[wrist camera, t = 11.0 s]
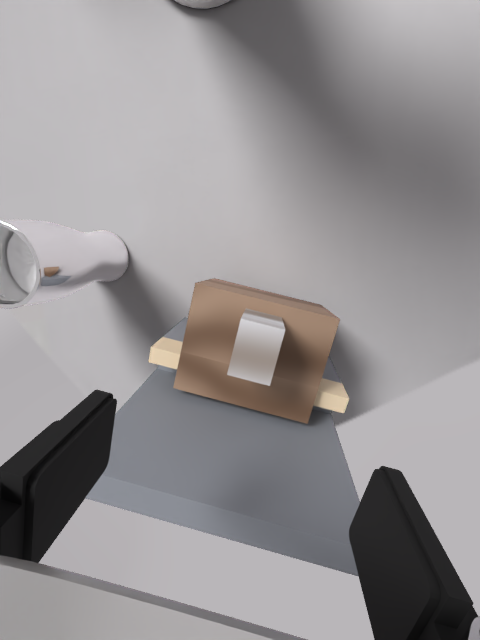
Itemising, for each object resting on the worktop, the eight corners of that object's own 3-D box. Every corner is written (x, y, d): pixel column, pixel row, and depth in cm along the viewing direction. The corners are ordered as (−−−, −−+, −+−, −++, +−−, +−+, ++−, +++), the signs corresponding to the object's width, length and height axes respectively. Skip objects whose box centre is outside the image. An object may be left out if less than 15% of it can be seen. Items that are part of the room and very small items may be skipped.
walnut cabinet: (214, 278, 34) (177, 287, 20) (320, 304, 33) (358, 332, 20) (196, 357, 36) (152, 415, 22) (297, 384, 35) (316, 460, 21)
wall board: (185, 317, 38) (73, 413, 17) (327, 353, 37) (399, 502, 16) (177, 357, 39) (65, 492, 18) (314, 393, 39) (364, 577, 18)
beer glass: (136, 233, 36) (44, 228, 22) (129, 290, 38) (40, 321, 24) (79, 220, 36) (-48, 206, 22) (75, 277, 38) (-45, 299, 24)
